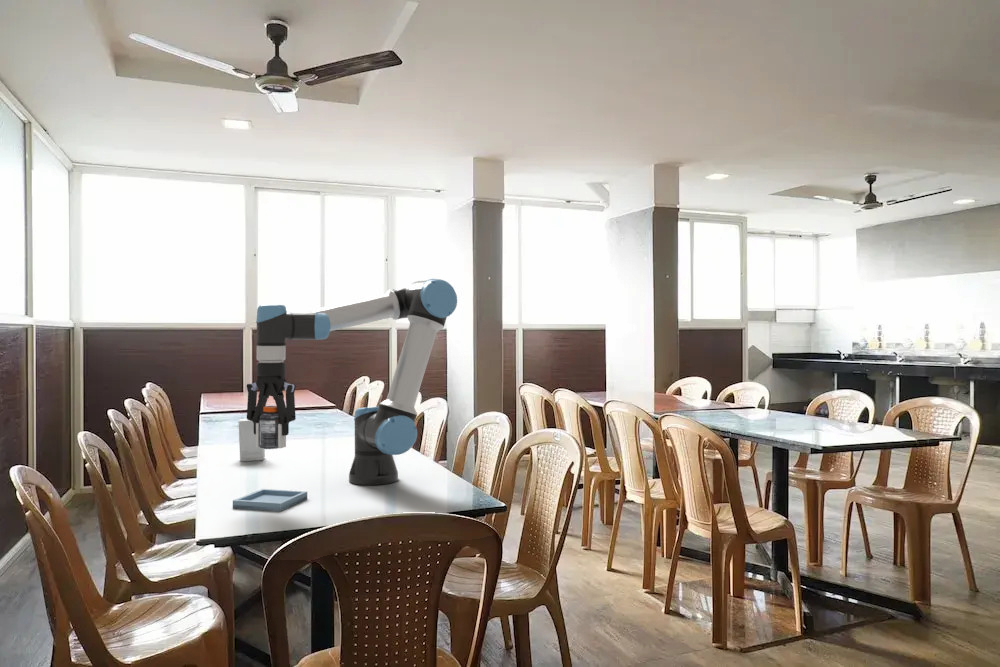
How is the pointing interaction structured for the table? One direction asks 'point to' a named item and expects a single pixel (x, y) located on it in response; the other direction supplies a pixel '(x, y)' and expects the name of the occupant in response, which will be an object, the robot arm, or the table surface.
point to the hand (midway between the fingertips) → (271, 446)
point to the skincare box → (249, 442)
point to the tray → (270, 500)
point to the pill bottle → (269, 428)
